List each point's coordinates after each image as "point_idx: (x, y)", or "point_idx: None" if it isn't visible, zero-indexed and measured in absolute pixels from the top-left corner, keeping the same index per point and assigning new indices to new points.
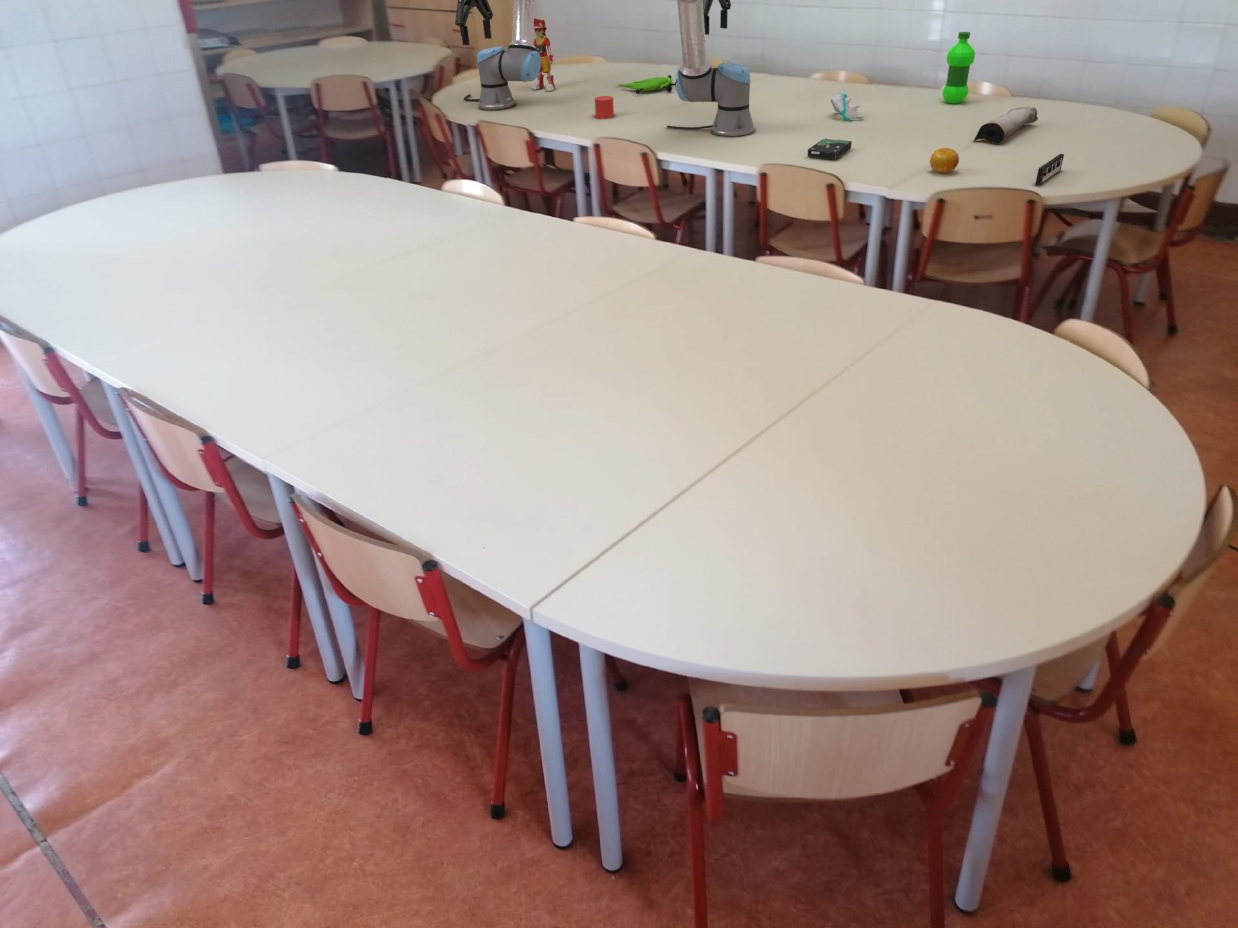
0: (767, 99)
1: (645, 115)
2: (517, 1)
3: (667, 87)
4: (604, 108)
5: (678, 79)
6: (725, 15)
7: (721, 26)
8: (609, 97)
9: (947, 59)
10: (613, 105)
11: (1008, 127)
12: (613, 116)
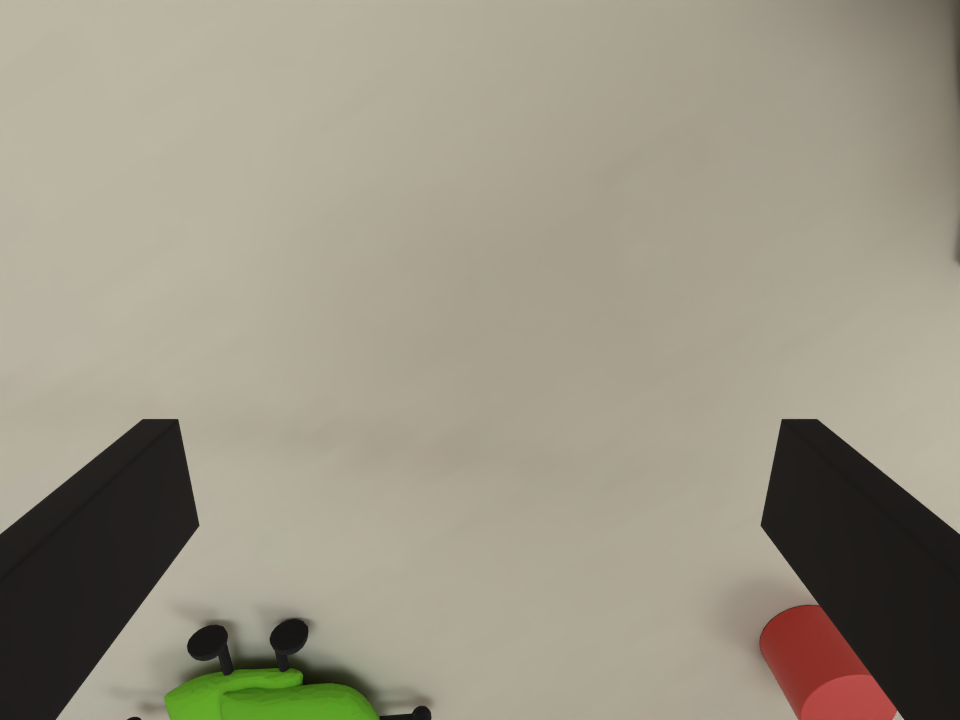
0: (114, 52)
1: (731, 501)
2: None
3: (303, 645)
4: None
5: None
6: (15, 599)
7: (179, 526)
8: (832, 696)
9: None
10: (809, 649)
11: None
12: (797, 607)
